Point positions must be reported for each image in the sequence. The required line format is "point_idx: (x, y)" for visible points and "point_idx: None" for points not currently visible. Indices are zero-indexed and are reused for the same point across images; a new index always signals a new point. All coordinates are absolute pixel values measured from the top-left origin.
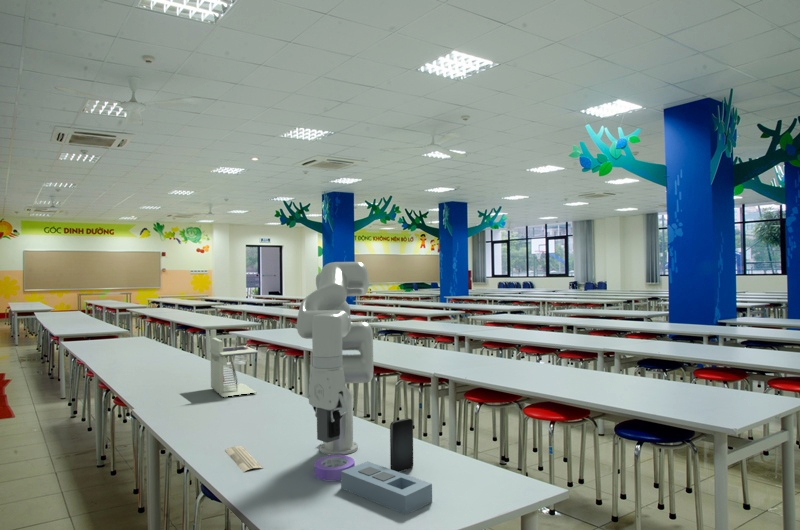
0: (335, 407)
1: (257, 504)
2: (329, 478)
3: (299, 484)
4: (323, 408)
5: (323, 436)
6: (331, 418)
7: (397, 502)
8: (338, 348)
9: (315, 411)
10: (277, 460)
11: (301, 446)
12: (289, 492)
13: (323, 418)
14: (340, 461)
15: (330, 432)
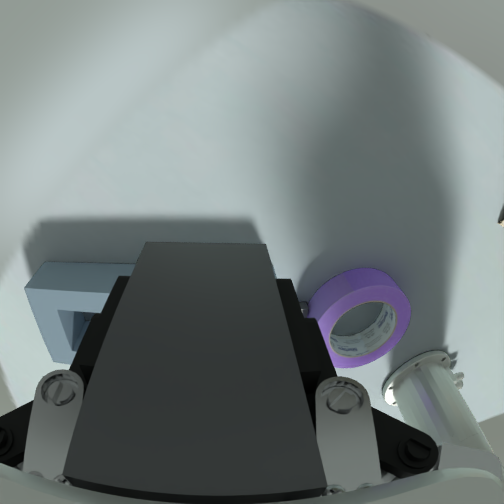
0: None
1: (392, 66)
2: (337, 282)
3: (391, 219)
4: (51, 497)
5: (183, 260)
6: (72, 405)
7: (55, 276)
8: None
9: (392, 425)
10: (494, 272)
11: (481, 338)
12: (379, 168)
13: (160, 382)
14: (364, 346)
15: (108, 300)
